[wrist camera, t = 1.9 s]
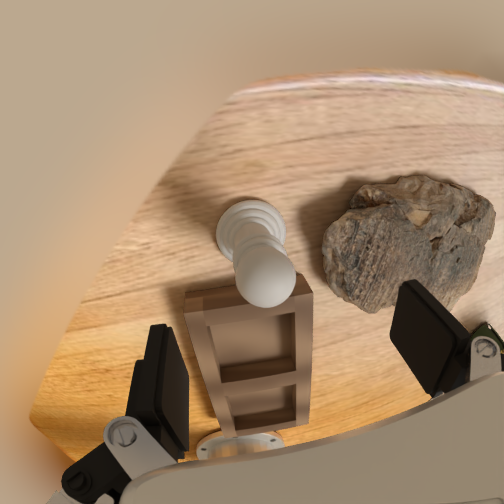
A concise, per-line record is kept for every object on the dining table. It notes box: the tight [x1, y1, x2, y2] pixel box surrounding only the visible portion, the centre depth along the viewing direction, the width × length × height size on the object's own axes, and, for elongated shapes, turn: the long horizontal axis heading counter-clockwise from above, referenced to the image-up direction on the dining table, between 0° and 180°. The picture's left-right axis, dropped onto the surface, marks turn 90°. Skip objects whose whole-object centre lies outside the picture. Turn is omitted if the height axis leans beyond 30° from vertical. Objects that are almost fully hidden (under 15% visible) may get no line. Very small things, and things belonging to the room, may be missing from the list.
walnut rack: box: [183, 274, 313, 438], centre depth 28 cm, size 19×10×3 cm, turn 6°
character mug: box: [470, 324, 504, 354], centre depth 29 cm, size 11×7×13 cm, turn 84°
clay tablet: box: [322, 175, 496, 313], centre depth 24 cm, size 14×5×20 cm
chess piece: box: [216, 200, 296, 308], centre depth 19 cm, size 5×5×9 cm
